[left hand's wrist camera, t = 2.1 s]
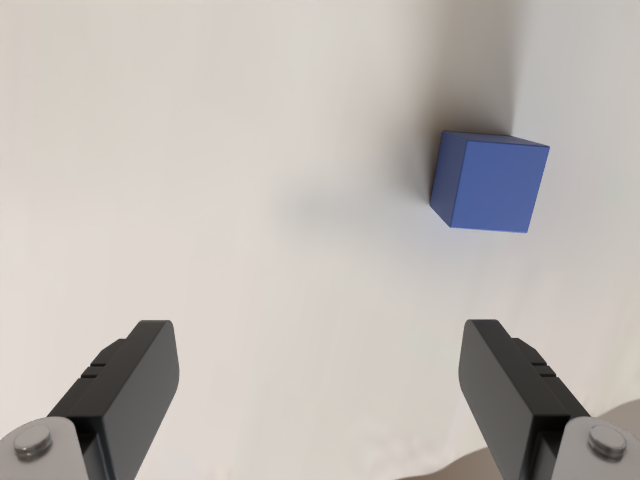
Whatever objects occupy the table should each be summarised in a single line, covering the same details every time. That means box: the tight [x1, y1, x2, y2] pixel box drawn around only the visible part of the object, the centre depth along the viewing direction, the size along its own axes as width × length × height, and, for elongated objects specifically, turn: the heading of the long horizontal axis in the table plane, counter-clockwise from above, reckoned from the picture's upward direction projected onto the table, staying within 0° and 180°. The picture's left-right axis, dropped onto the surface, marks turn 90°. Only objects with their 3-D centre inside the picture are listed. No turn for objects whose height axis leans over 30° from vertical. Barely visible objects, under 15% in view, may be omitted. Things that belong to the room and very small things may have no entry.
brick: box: [430, 131, 550, 233], centre depth 24 cm, size 5×4×4 cm
